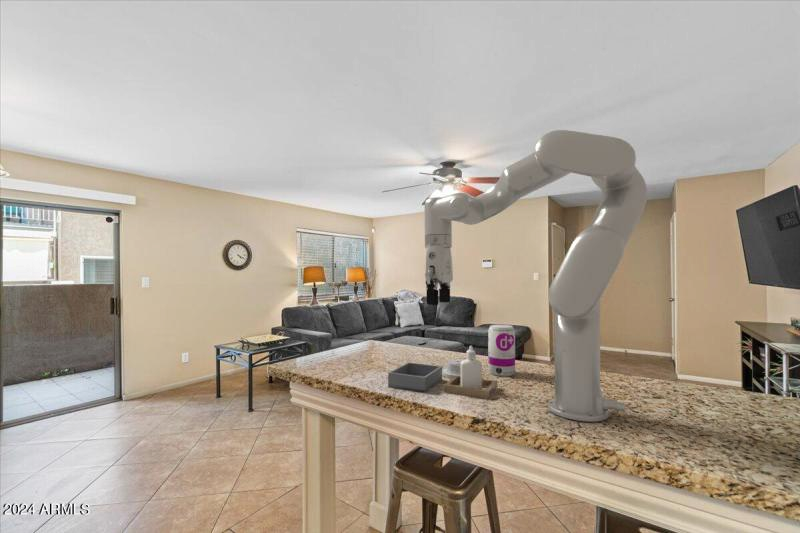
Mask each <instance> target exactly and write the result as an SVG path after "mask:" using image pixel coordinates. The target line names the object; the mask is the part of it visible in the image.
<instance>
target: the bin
mask: <svg viewBox="0 0 800 533" xmlns="http://www.w3.org/2000/svg"><path fill="white" fill-rule="evenodd" d="M442 370H443V366H442V365H441V366H440V365H434V364H425V363H419V362H418V363H417V362H406V363H405V364H402V365H400V366H398V367H396V368H394V369H393V370H391V371H389V372H388V374H387V375H388V376H387V377H388V379H387V384H388V385H387V386H388V388H392V389H399V390H406V391H411V392H416V393H427V392H428V391H430V390H431V389H432V388H434V387H435V386H436V385H437V384H439V383H441V381H442V380H443V375H442Z"/></svg>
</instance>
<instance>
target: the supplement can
mask: <svg viewBox="0 0 800 533" xmlns="http://www.w3.org/2000/svg"><path fill="white" fill-rule="evenodd" d="M487 330H488V331H487V334H488V335H487V336H488V338H487V341H488V342H487V344H488V347H487V348H488V349H487V351H488V352H487V353H488V354H487V355H488V367H487V369H488V372H490V374H491V375H494V376H498V377H510V376H513V375H514V374H515V373H516V331H515V329H514V327H513V325H509V324H491V325H489V328H488V329H487Z"/></svg>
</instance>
